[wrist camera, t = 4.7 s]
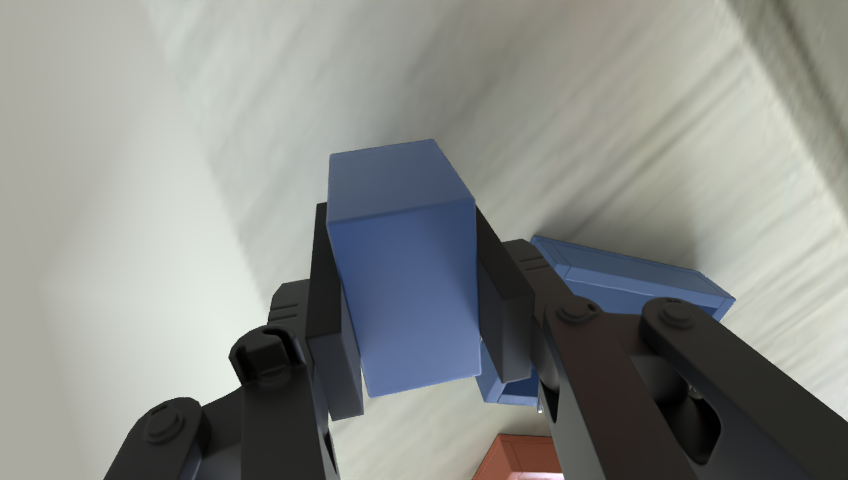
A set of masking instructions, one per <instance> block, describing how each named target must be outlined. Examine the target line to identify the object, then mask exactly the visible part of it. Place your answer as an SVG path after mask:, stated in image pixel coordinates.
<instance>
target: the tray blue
mask: <svg viewBox="0 0 848 480" xmlns="http://www.w3.org/2000/svg"><path fill="white" fill-rule="evenodd" d="M530 243H531V244H533V245H534V246H536V247H537V249H538V250H539V251H540V252H541V254H542V255H543V256H544V258H545V259H546V260H547V261H548V262H549V264H550V266H551V267H553V269H554V270H555V271H556V272H557V274H558V275H559V276H560V277H561V279H562V280H563V281H564V282H565V284H566V285H567V286H568V287H569V289H570V290H571V291H572V292H573V294H574V295H578V296H581V297H585V298H588V299H590V300H592V301H593V302H595V303H597V304H598V305H599V306H600V307H601V309H602V310H603V311H604V312H609V313H622V314H641V312H642V308H643V306H644V305H645V303H646V302H647V301H649V300H651V299H653V298H659V297H671V298H679V299H682V300H685V301H688V302H691V303H693V304H694V305H696V306H698V307H699V308H701V309H703V310H704V311H705V312H706V313H708V314H709V315H710V316H712V317H713V318H714V319H716V320H717V321H718V322H719V321H720V320H721V319H722V318H723V316H724V315H725V314H726V312H727V311H728V310H729V308H730V307H731V306H732V305H733V303H734V302H735V301H736V299H735V298H734V297H733V296H731V295H730V294H729V293H727V292H726V291H725V290H723V289H722V288H721V287H719V286H718V285H716V284H715V283H714V282H712V281H711V280H710V279H708V278H707V277H705V276H704V275H703V274H702V273H700V272H698V271H693V270H689V269H684V268H680V267H675V266H671V265H666V264H662V263H657V262H653V261H648V260H644V259H639V258H634V257H630V256H625V255H621V254H616V253H612V252H607V251H603V250H598V249H594V248H589V247H585V246H580V245H575V244H571V243H566V242H562V241H557V240H553V239H548V238H544V237H539V236H535V235H534V236H533V238H532V240H531V242H530ZM481 367H482V372H481V374H480V375H477V376H475V378H476V380H477V383H478V386H479V389H480V392H481V394H482V397H483V400H484V402H488V403H499V404H511V405H523V406H535V407H537V401H538V386H539V375H538V373H537V371H536V369H535V367H534V365H533V364H532V365H531V378H528V379H523V380H518V381H514V382H509V383H505V384H502V383H501V381H500V378H499V376H498V374H497V371H496V369H495V367H494V364H493V362H492V360H491V357H490V355H489V353H488V350H487V348H486V346H485V343H484V341H483V342H482V344H481Z"/></svg>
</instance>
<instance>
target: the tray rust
mask: <svg viewBox="0 0 848 480" xmlns="http://www.w3.org/2000/svg"><path fill="white" fill-rule="evenodd" d="M473 480H564V477H563V473H562V470H561V466H560V463H559V459H558V456H557V452H556V449H555V446H554V442H553V439H552V437H537V436H519V435H502V434H498V436H497V438H496V439H495V441H494V443H493V445H492V446H491V448H490V450H489V452H488V453H487V455H486V457H485V459H484V460H483V462H482V464H481V466H480V467H479V469H478V471H477V473H476V474H475V476H474V478H473Z"/></svg>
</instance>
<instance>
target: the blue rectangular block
mask: <svg viewBox="0 0 848 480" xmlns="http://www.w3.org/2000/svg"><path fill="white" fill-rule="evenodd" d="M326 227H327V231H328V235H329V239H330V243H331V247H332V251H333V255H334V259H335V263H336V267H337V271H338V275H339V278H340V279H341V283H342V287H343V291H344V295H345V299H346V303H347V307H348V311H349V315H350V319H351V323H352V327H353V332H354V336H355V340H356V344H357V348H358V352H359V356H360V364H361V368H362V372H363V376H364V380H365V384H366V388H367V392H368V396H369V397H370V398H374V397H379V396H384V395H388V394H393V393H398V392H402V391H407V390H412V389H416V388H421V387H426V386H430V385H435V384H440V383H444V382H449V381H454V380H458V379H463V378H468V377H472V376H477V375H480V374H481V372H482V367H481V340H480V320H479V294H478V267H477V233H476V206H475V199H474V197H473V195H472V194H471V193H470V191H469V190H468V188H467V187H466V185H465V184H464V183H463V181H462V180H461V178H460V177H459V175H458V174H457V172H456V171H455V170H454V168H453V167H452V165H451V164H450V162H449V161H448V159H447V158H446V157H445V155H444V154H443V152H442V151H441V149H440V148H439V147H438V145H437V144H436V142H435V141H434V139H428V140H422V141H415V142H408V143H402V144H395V145H388V146H382V147H375V148H369V149H362V150H355V151H349V152H342V153H335V154H331V155H330V159H329V178H328V198H327V218H326Z"/></svg>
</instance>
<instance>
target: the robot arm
mask: <svg viewBox="0 0 848 480" xmlns="http://www.w3.org/2000/svg"><path fill="white" fill-rule="evenodd" d="M475 206H476V233H477V267H478V294H479V320H480V334H481V336H482V339H483V341H484V343H485V346H486V348H487V350H488V353H489V355H490V357H491V360H492V362H493V364H494V367H495V369H496V371H497V374H498V376H499V378H500V381H501V383H502V384H505V383H509V382H514V381H518V380H523V379H528V378H531V365H532V364H533V365H534V367H535V369H536V371H537V373H538V375H539V386H538V401H537V411H538V413H540V412H542V408H544V411H545V415H546V418H547V422H548V425H549V428H550V432H551V435H552V439H553V442H554V446H555V449H556V452H557V456H558V459H559V463H560V466H561V470H562V473H563V477H564V480H848V422H847V421H846V420H844V419H843V418H842V417H841V416H839V415H838V414H837V413H835V412H834V411H833V410H832V409H830V408H829V407H828V406H826V405H825V404H824V403H823V402H821V401H820V400H819V399H817V398H816V397H815V396H814V395H812V394H811V393H810V392H808V391H807V390H806V389H804V388H803V387H802V386H801V385H799V384H798V383H797V382H795V381H794V380H793V379H792V378H790V377H789V376H788V375H786V374H785V373H784V372H783V371H781V370H780V369H779V368H777V367H776V366H775V365H774V364H772V363H771V362H770V361H768V360H767V359H766V358H765V357H763V356H762V355H761V354H759V353H758V352H757V351H755V350H754V349H753V348H752V347H750V346H749V345H748V344H746V343H745V342H744V341H743V340H741V339H740V338H739V337H737V336H736V335H735V334H734V333H732V332H731V331H730V330H728V329H727V328H726V327H725V326H723V325H722V324H721V323H719V322H718V321H717V320H716V319H714V318H713V317H712V316H710V315H709V314H708V313H706V312H705V311H704V310H703V309H701V308H699V307H698V306H696V305H694V304H693V303H691V302H688V301H685V300H682V299H679V298H671V297H659V298H653V299H651V300H649V301H647V302H646V303H645V305H644V306H643V308H642V312H641V314H622V313H609V312H604V311H603V310H602V309H601V307H600V306H599V305H598V304H597V303H595V302H593V301H592V300H590V299H588V298H585V297H581V296H578V295H574V294H573V292H572V291H571V290H570V289H569V287H568V286H567V285H566V284H565V282H564V281H563V280H562V279H561V277H560V276H559V275H558V274H557V272H556V271H555V270H554V269H553V267H551V266H550V264H549V262H548V261H547V260H546V259H545V258H544V256H543V255H542V254H541V252H540V251H539V250H538V249H537V247H536V246H534V245H533V244H531V243H529V242H527V241H525V240H524V239H518V240H512V241H507V242H501V241H500V239H499V238H498V237H497V235H496V234H495V232H494V231H493V229H492V228H491V226H490V225H489V223H488V222H487V220H486V219H485V217H484V216H483V214H482V213H481V211H480V210H479V208H478V207H477V205H476V204H475ZM326 218H327V202H325V203H319V204H317V207H316V218H315V229H314V240H313V251H312V262H311V273H310V279H305V280H299V281H294V282H288V283H283V284H282V285H281V286H280V287H279V289H278V290H277V291H276V292H275V294H274V295H273V297H272V302H271V306H270V312H269V316H268V322H267V325H264V326H261V327H258V328H256V329H253V330H251V331H249V332H248V333H246V334H245V335H244V336H242V337H241V338H239V339H238V341H237V342H236V343H235V344H234V345H233V347H232V348H231V351H230V354H229V357H228V358H229V360H230V362H231V364H232V366H233V368H234V370H235V372H236V374H237V376H238V379H239V381H240V382H241V385H242V386H241V387H239V388H238V389H236V390H235V391H233V392H231V393H229V394H228V395H226V396H224V397H222V398H219V399H217V400H215V401H213V402H211V403H208V404H206V405H204V406H202V407H201V405H200V404H199V402H198V401H196V400H194V399H192V398H190V397H178V398H174V399H171V400H168V401H165V402H163V403H161V404H159V405H157V406H156V407H154V408H152V409H150V410H149V411H148V412H147V413H146V414H144V416H142V417H141V418H140V419H139V420H138V421H137V422H136V424H135V425H134V426H133V428H132V429H131V430H130V432H129V433H128V435H127V437H126V439H125V441H124V443H123V444H122V447H121V448H120V450H119V452H118V454H117V455H116V458H115V459H114V461H113V463H112V465H111V467H110V468H109V470H108V472H107V474H106V476H105V478H104V479H103V480H340V475H339V470H338V465H337V460H336V455H335V450H334V445H333V440H332V437H331V434H330V431H329V428H328V410H329V413H330V416H331V419H332V421H337V420H341V419H346V418H350V417H355V416H359V415H364V410H363V395H362V380H361V366H360V356H359V352H358V348H357V344H356V340H355V336H354V332H353V327H352V323H351V319H350V315H349V311H348V307H347V303H346V299H345V295H344V291H343V287H342V283H341V279H340V278H339V275H338V271H337V267H336V263H335V259H334V255H333V251H332V247H331V243H330V239H329V235H328V231H327V227H326Z"/></svg>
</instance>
